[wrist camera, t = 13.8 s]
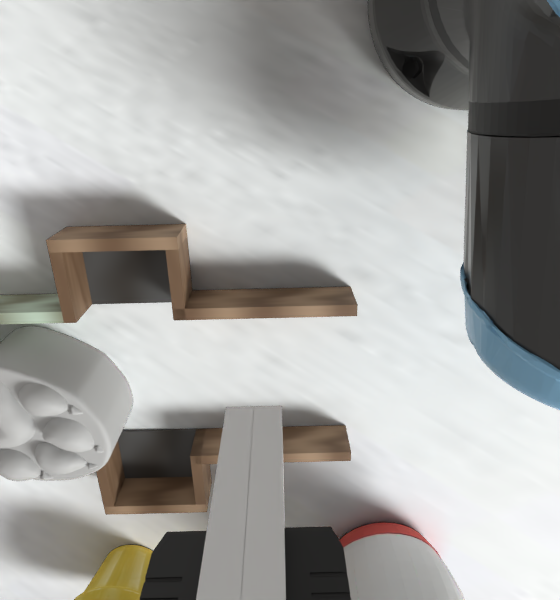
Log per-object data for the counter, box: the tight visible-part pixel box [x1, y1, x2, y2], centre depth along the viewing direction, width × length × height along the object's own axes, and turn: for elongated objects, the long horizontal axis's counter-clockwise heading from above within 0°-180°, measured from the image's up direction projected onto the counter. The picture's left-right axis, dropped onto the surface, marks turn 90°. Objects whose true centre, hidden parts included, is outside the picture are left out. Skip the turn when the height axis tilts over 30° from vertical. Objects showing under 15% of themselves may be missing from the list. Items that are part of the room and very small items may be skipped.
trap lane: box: [0, 224, 357, 514], centre depth 45 cm, size 37×28×4 cm
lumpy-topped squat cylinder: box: [0, 326, 133, 481], centre depth 43 cm, size 10×13×9 cm
